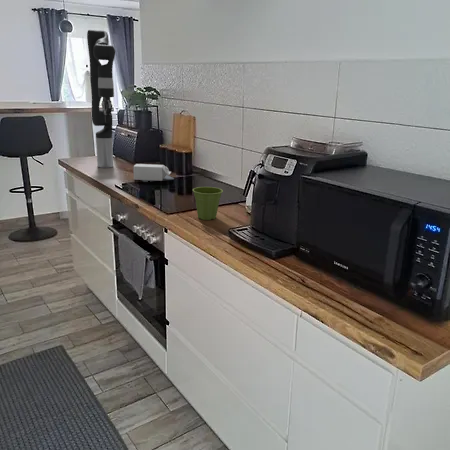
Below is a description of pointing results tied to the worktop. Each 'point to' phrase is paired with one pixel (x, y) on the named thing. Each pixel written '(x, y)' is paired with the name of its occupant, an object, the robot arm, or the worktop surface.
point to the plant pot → (207, 201)
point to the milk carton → (150, 172)
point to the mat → (162, 180)
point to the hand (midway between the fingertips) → (107, 122)
